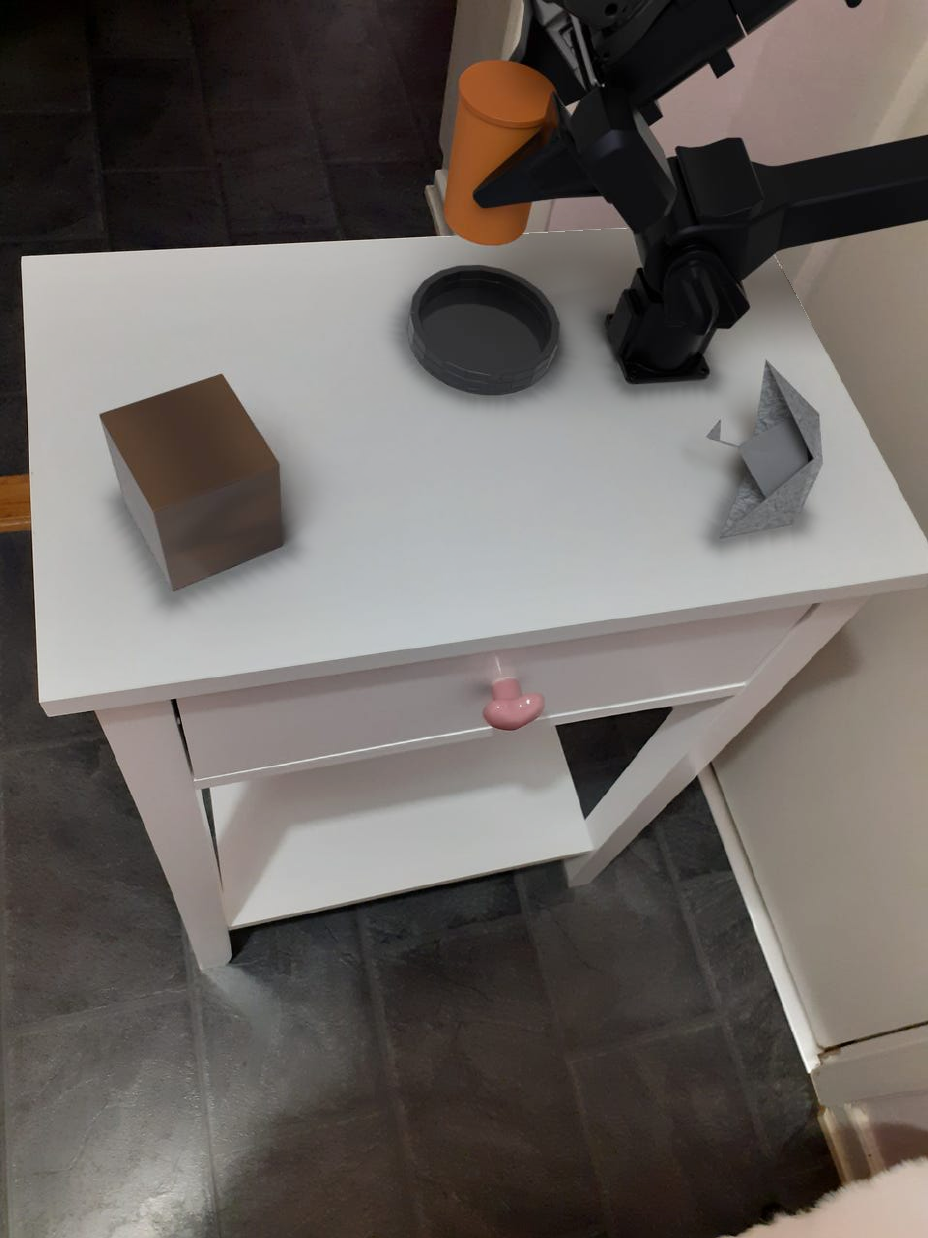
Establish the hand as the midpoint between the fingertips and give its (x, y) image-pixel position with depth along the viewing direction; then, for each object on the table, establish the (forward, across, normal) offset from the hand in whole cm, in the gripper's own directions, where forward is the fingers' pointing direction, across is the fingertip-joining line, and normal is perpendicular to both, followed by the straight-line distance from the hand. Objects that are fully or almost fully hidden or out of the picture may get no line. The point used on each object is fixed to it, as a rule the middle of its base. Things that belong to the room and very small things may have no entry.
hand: (470, 169), depth 54 cm
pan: (+8, -1, +12) cm, 14 cm away
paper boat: (-4, +12, +24) cm, 27 cm away
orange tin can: (+1, 0, +3) cm, 3 cm away
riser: (+21, +15, -2) cm, 26 cm away
